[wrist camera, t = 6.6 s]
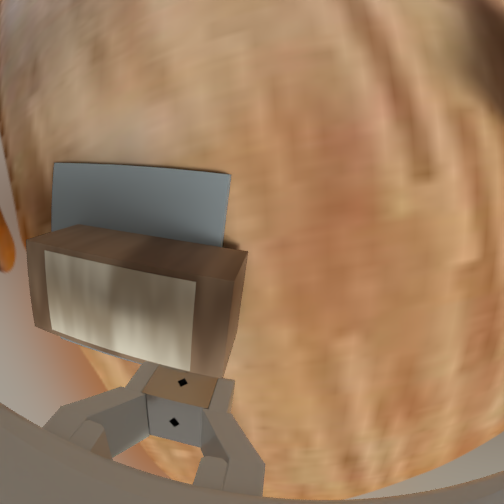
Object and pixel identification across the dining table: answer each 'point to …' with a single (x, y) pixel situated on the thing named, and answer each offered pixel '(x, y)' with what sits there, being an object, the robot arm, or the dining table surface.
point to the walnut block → (138, 295)
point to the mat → (141, 202)
